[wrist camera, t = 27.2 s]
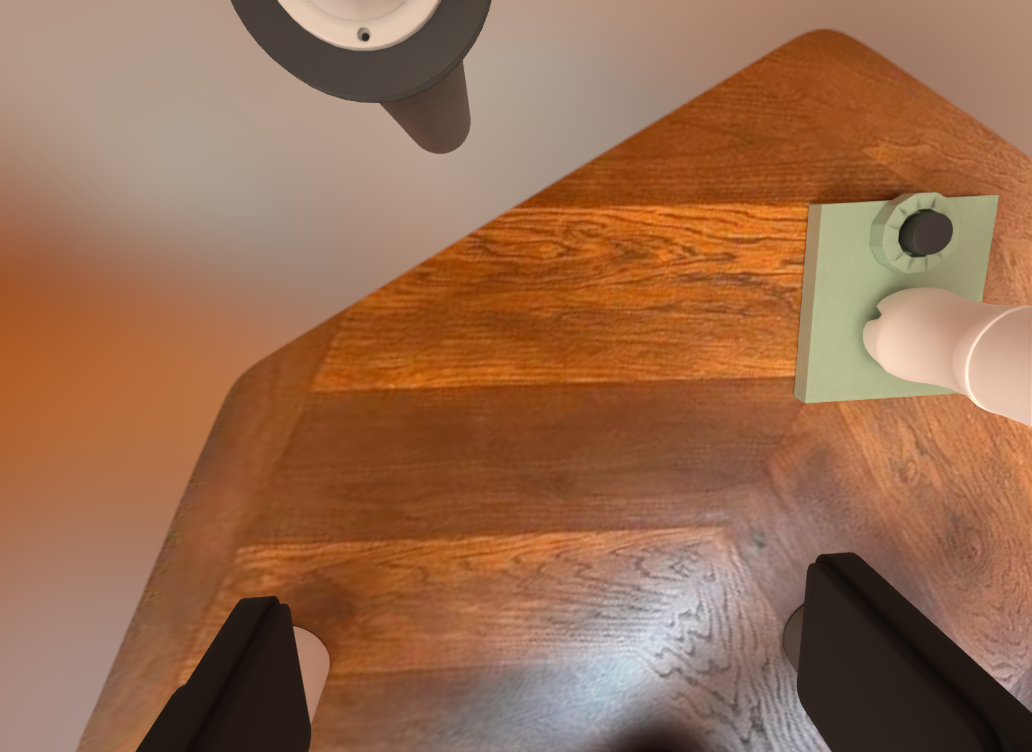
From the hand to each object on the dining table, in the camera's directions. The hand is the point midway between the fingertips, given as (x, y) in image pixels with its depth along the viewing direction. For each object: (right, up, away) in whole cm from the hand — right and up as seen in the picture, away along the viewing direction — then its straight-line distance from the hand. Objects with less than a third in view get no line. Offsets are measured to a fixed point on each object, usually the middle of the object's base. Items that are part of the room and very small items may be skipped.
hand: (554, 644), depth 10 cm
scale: (+30, +11, +38) cm, 50 cm away
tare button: (+30, +16, +34) cm, 48 cm away
